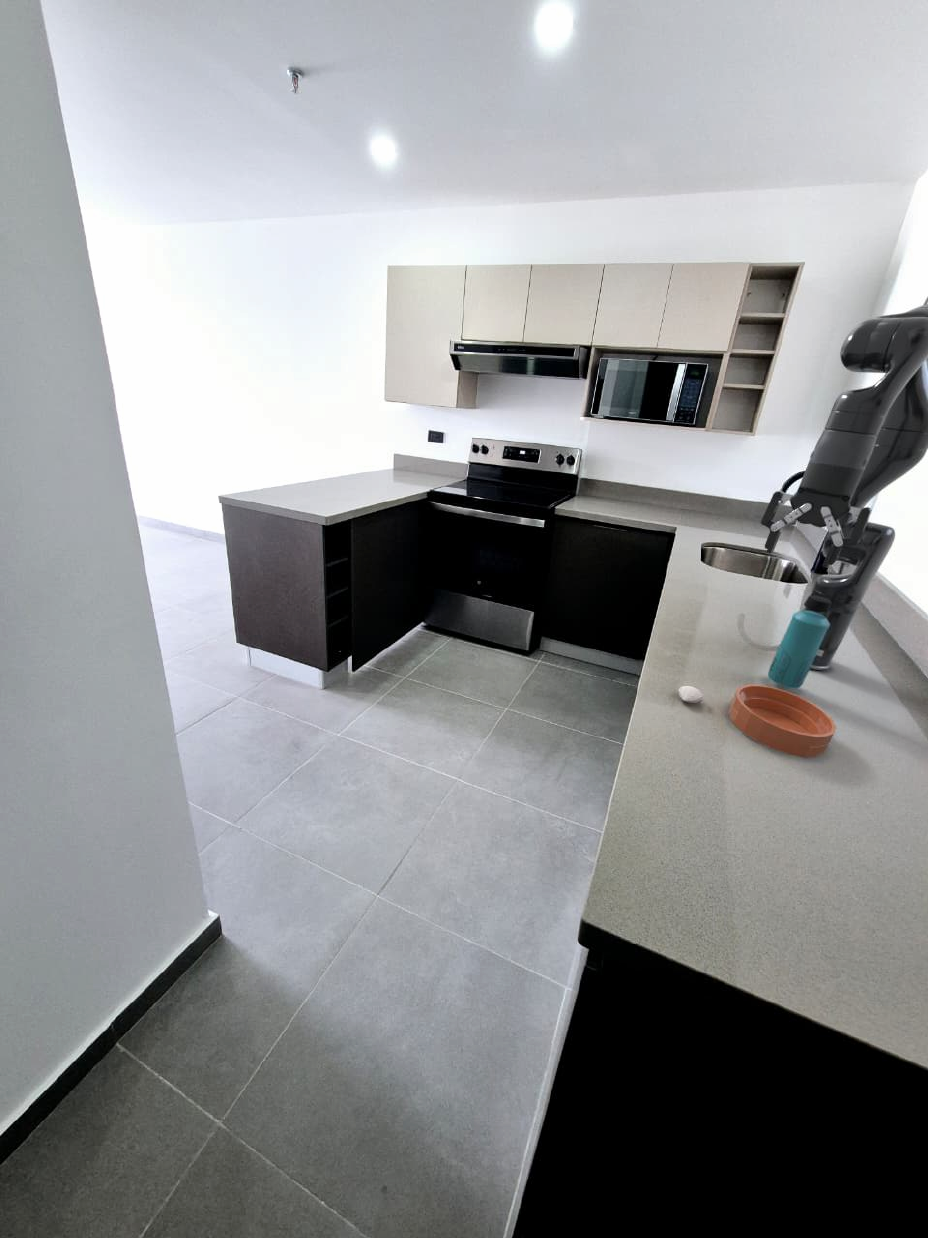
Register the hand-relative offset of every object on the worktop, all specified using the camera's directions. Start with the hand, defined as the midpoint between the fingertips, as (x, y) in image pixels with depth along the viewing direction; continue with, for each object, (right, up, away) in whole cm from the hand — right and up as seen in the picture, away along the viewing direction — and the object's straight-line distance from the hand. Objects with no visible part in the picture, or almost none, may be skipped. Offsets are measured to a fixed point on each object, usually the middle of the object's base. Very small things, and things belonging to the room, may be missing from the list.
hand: (796, 559), depth 84 cm
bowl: (-3, -30, +2) cm, 30 cm away
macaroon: (-16, -26, +7) cm, 31 cm away
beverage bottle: (+8, -25, +17) cm, 31 cm away
